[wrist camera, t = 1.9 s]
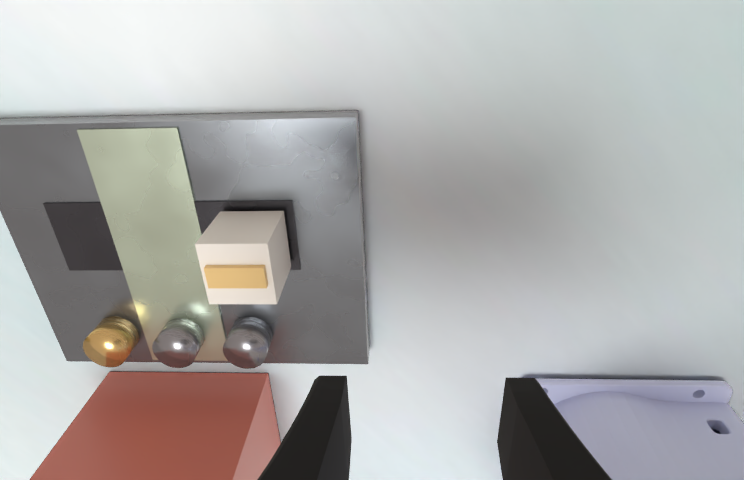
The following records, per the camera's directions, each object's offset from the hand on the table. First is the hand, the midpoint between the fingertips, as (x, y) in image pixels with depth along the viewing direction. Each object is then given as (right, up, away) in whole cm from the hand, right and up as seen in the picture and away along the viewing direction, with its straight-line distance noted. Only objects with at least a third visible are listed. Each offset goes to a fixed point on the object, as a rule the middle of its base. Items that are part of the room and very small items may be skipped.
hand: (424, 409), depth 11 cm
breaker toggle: (-6, +4, +7) cm, 10 cm away
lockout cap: (-10, -5, +14) cm, 18 cm away
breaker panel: (-8, +4, +9) cm, 13 cm away
